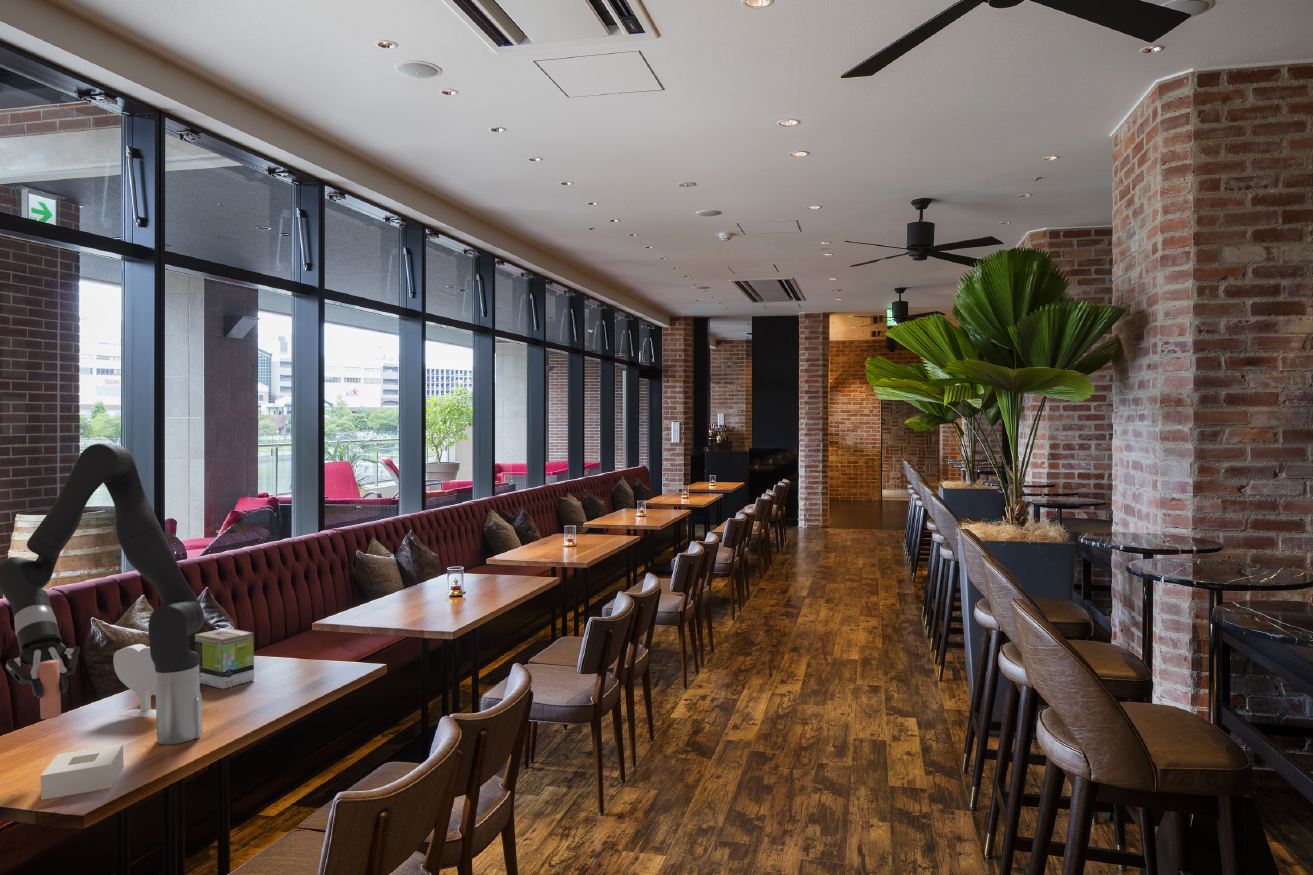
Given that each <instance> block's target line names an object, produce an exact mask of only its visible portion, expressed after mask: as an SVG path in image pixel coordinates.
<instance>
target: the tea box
mask: <svg viewBox="0 0 1313 875" xmlns="http://www.w3.org/2000/svg"><path fill="white" fill-rule="evenodd" d="M194 648H195V649H194V650H195V652H197V653H198V655H199V680H200V684H202V683H203V685H206V684H207V685H206V686H210V685H211V686H210V687H214V688H217V689H218V688H219V689H221V688H222V690H225V688H226V689H229V688H228V687H230V688H233V687H232V686H234V685H237V684H241V683H244V682H248V683H250V682H249V681H251V680H254V681H255V654H254V632H251V631H246V630H240V629H235V628H228V627H224V628H220V629H219V628H218V629H215V630H210V631H209V630H208V631H206V632H200V633H196V634H195V635H194ZM251 682H252V681H251ZM244 684H245V683H244ZM241 685H242V684H241ZM237 686H238V685H237ZM234 687H235V686H234Z"/></svg>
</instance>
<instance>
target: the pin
mask: <svg viewBox="0 0 1313 875" xmlns="http://www.w3.org/2000/svg"><path fill="white" fill-rule="evenodd" d="M38 679H40V681H41V685H42V689H43V696H42V698H39V707H40V709H39V710H40V712H39V713H40V719H41V720H49V719H55V718H58V717H60V716H61V715H62V705H61V703H62V702H61V691H60V669H59V660H48V661H43V662H40V663H39V675H38Z"/></svg>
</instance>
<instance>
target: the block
mask: <svg viewBox="0 0 1313 875" xmlns="http://www.w3.org/2000/svg"><path fill="white" fill-rule="evenodd" d="M123 768H124V744H121V743H120V744H115V745H110V746H103V747H95V748H89V749H84V750H77V751H70V752H64V753H57V754H56V755H55V757H54V758H53V759H52V761H50V763H49V764H48V766H47V767H46V768H45V769H44V770H43V772H42V773H41V774H40V795H41V796H40V798H41V801H43V800H44V799H45V800H48V799H56V798H61V797H67V796H72V795H79V794H84V793H90V792H96V791H97V792H98V791H102V790H108V789H112V788H113V786H114V785H115V783H116V781H117V780H118V778H119V775H120V774H121V773H122V771H123Z"/></svg>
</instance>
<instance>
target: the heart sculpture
mask: <svg viewBox="0 0 1313 875" xmlns="http://www.w3.org/2000/svg"><path fill="white" fill-rule="evenodd" d="M112 660H113V661H112V662H113V668H114V669H113V670H114V672H115V674H116V675H117V677H118V679H119V681H120V682H121V683H122V684H124V685H125V686H126V688H128V689H129V690H130V691H132V692H134V693H136V694H137V695H138V696H139V707H140V708H134V709H130V710H126V711H123V712H124V713H123V712H121V713H122V714H121V713H120V714H119V715H118V716H119V717H139V718H141V717H143V718H144V717H145V718H156V708H155V709H152V701H151V696H152V695H151V693H152V692H153V689H155V688H156V687H155V665H154V663H153V661H152V659H151V655H150V645H148V646H147V645H145V644H143V643H136V644H132V645H129V646H125V647H123V648H121V649H118V650H116V651H115V652H114V653H113V658H112Z"/></svg>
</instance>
